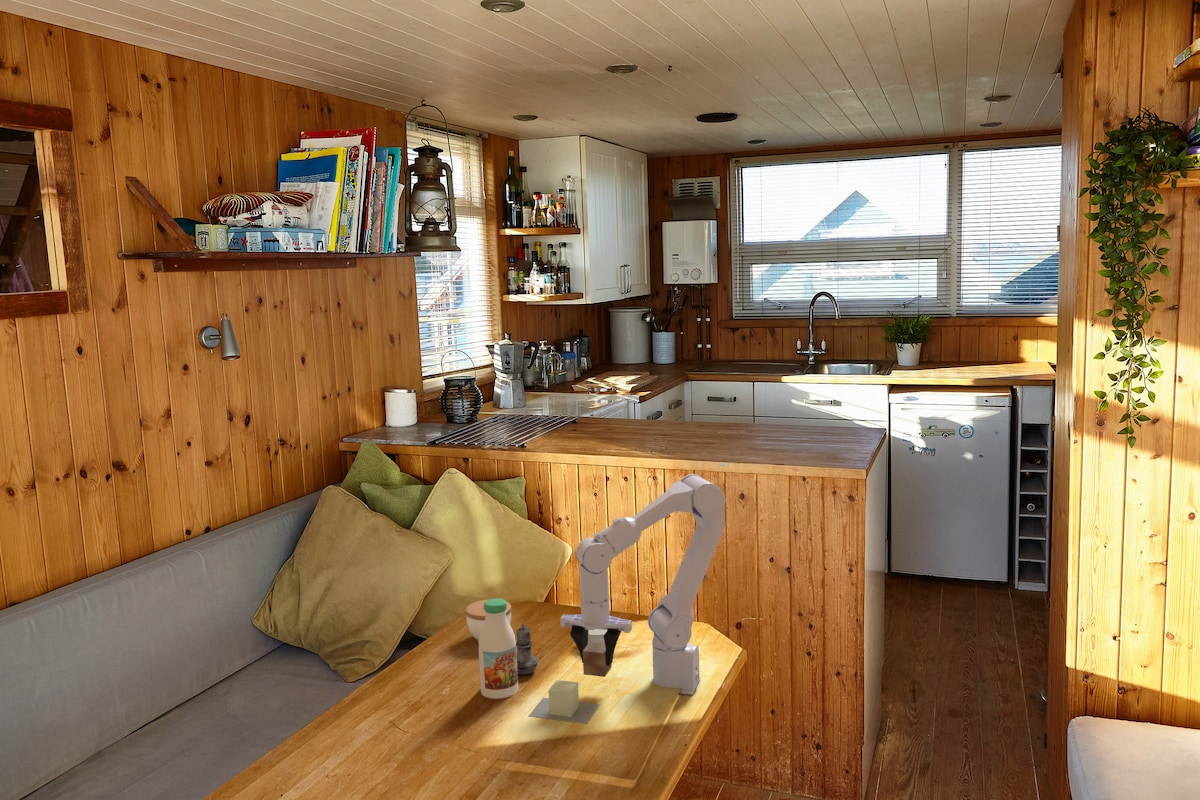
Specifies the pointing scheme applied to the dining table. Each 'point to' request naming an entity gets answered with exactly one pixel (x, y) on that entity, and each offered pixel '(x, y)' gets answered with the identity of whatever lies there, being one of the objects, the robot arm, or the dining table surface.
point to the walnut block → (595, 660)
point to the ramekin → (596, 635)
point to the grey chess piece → (525, 652)
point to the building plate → (579, 716)
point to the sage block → (563, 698)
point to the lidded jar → (480, 617)
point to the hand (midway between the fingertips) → (597, 662)
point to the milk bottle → (497, 653)
